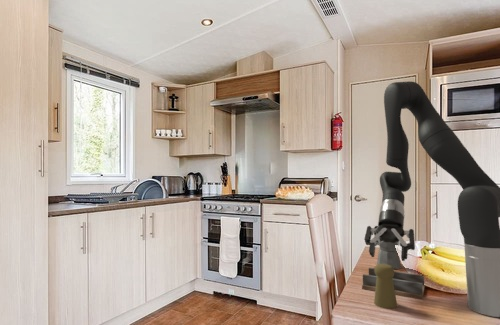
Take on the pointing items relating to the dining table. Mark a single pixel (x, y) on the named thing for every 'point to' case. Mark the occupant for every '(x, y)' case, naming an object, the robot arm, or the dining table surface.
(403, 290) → the walnut track
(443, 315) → the dining table surface
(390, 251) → the coffeepot
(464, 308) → the dining table surface
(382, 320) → the dining table surface
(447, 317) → the dining table surface
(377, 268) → the olive waisted cylinder
